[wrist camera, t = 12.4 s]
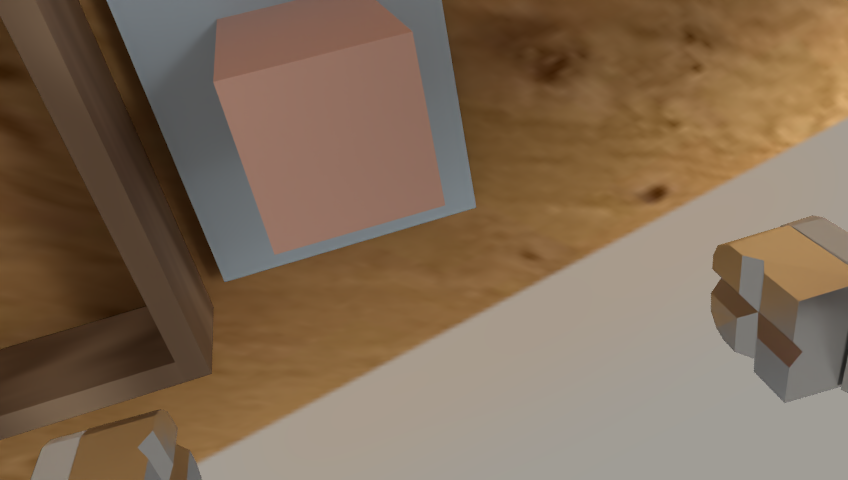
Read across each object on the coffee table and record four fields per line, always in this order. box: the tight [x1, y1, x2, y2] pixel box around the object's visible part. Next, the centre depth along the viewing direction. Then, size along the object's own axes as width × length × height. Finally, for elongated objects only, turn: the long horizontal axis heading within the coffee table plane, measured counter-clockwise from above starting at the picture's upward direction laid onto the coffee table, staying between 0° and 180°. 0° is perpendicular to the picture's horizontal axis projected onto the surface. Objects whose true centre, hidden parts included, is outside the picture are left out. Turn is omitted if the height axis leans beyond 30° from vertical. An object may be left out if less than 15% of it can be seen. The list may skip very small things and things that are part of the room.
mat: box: [107, 0, 476, 282], centre depth 25 cm, size 11×15×1 cm
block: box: [213, 0, 445, 255], centre depth 21 cm, size 5×5×8 cm
